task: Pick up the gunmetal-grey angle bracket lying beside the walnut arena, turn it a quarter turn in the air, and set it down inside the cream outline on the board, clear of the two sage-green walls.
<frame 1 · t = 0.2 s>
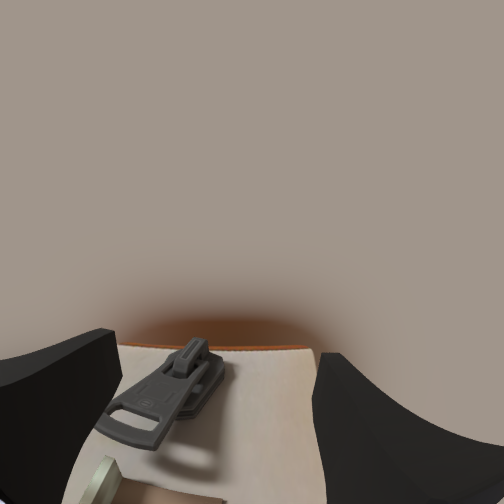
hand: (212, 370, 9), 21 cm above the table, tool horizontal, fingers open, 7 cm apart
zipper pull: (172, 408, 33), on the table
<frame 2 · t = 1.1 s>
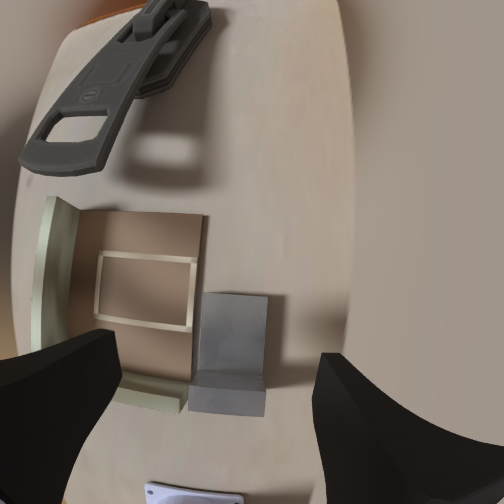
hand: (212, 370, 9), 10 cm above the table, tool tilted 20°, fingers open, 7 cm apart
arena: (121, 298, 19), on the table
zipper pull: (142, 82, 22), on the table
angle bracket: (233, 342, 19), on the table
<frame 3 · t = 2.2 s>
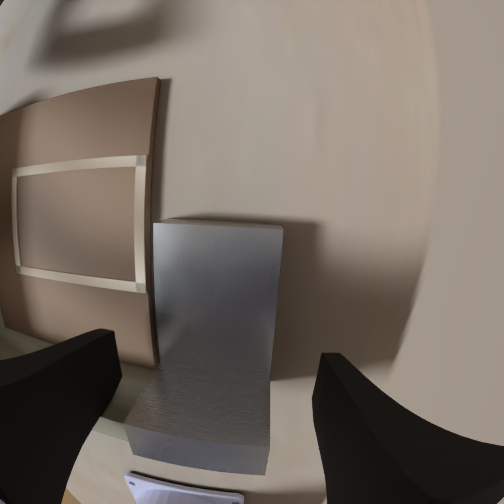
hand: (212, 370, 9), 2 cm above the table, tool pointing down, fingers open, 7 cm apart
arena: (45, 237, 11), on the table
angle bracket: (220, 308, 11), on the table
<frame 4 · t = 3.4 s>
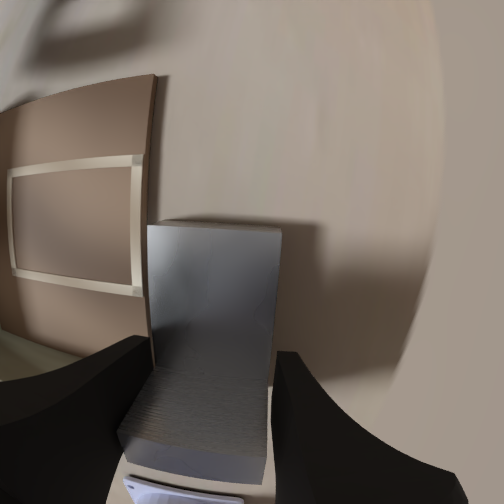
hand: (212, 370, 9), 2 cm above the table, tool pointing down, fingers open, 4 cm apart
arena: (40, 239, 10), on the table
angle bracket: (217, 312, 10), on the table
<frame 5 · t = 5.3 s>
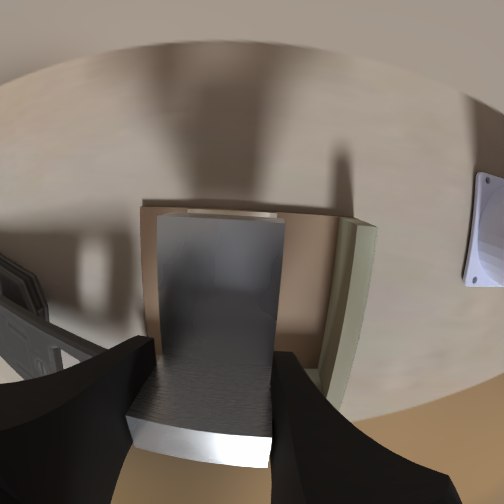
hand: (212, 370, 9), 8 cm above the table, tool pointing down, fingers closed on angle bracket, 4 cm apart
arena: (241, 301, 18), on the table
zipper pull: (33, 306, 19), on the table
angle bracket: (222, 301, 11), point 6 cm above the table, touching gripper
when the fingers open (3 cm above the table, at t = 6.8 s): angle bracket stays where it is, resting on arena.
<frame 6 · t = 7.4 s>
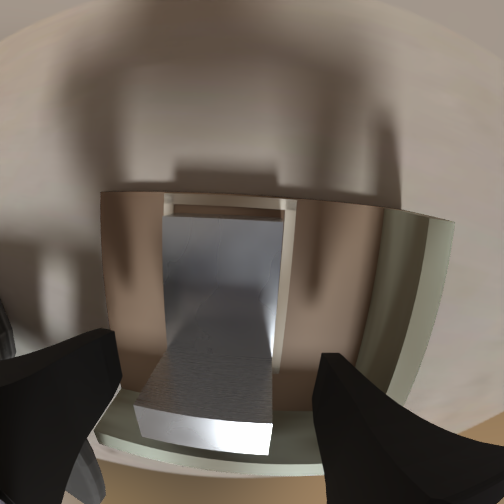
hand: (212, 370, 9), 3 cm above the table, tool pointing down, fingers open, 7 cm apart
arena: (242, 326, 12), on the table
angle bracket: (224, 297, 11), resting on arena
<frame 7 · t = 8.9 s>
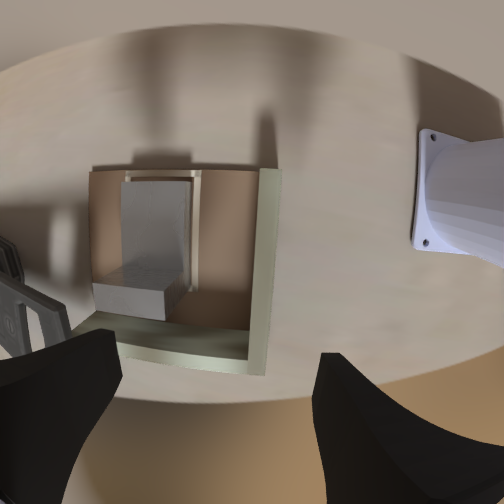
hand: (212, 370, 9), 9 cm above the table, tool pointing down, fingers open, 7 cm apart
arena: (173, 256, 18), on the table
zipper pull: (12, 276, 20), on the table
angle bracket: (160, 234, 17), resting on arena
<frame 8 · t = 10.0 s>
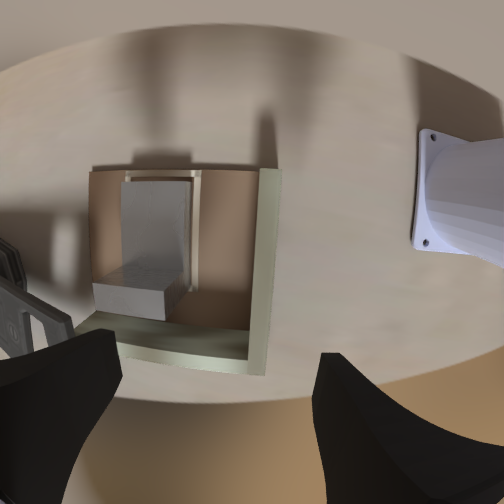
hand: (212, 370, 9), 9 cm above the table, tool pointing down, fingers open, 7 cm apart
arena: (173, 256, 18), on the table
zipper pull: (14, 280, 20), on the table
angle bracket: (160, 234, 17), resting on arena
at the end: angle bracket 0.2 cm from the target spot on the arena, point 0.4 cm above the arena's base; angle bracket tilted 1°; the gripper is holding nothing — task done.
